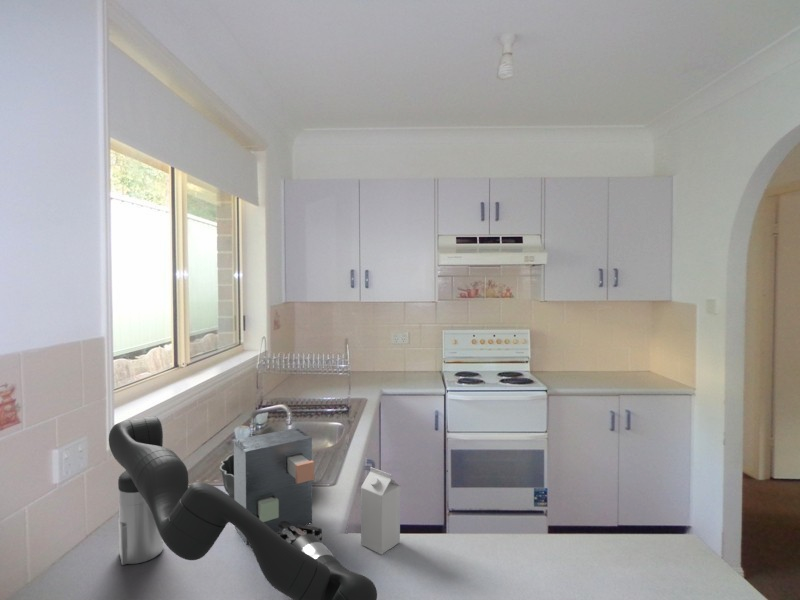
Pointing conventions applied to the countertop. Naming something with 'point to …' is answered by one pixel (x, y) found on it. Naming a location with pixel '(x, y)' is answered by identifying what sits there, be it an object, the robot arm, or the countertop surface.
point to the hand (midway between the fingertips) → (281, 525)
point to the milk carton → (380, 511)
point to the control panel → (273, 476)
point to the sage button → (268, 508)
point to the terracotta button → (300, 468)
